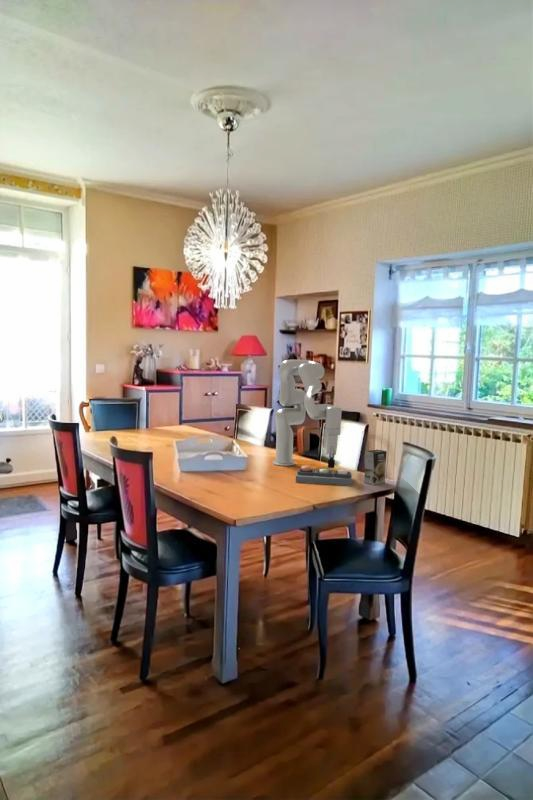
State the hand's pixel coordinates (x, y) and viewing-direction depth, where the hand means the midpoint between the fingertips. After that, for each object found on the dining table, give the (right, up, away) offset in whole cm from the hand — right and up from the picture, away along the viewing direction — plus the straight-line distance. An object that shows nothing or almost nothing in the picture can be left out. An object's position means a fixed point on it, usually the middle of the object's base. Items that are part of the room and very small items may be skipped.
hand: (331, 467), depth 264 cm
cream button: (+6, -4, -1) cm, 7 cm away
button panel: (-4, -7, +1) cm, 8 cm away
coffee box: (+21, -8, -1) cm, 23 cm away
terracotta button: (-12, -2, +2) cm, 12 cm away
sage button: (-3, -3, +1) cm, 5 cm away
